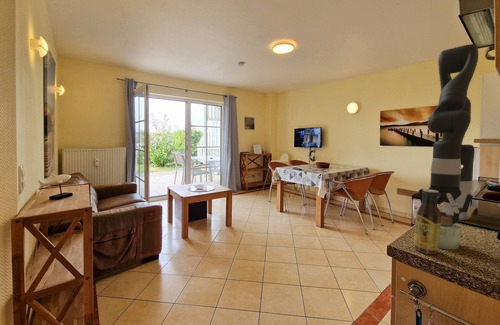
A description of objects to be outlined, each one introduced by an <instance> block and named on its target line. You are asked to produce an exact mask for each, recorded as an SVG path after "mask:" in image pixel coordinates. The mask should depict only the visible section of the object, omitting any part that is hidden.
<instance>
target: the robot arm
mask: <svg viewBox="0 0 500 325" xmlns="http://www.w3.org/2000/svg"><path fill="white" fill-rule="evenodd" d="M478 61H479V48H478V45H476V44H475V43H474V44H473V43H471V44H464V45H461V46H457V47H456V46H455V47H453V48H447V49H444V50H442V51H441V52H440V53H439V55H438V62H437V63H438V74H439V82H440V95H439V100H438V104H437V105H436V106H435V108H434V110H433V111H432V112H431V114H430V116H429V117H428V119H427V124H426V125H427V128H428V131H429V132H431V133H433V134H442V139H441V140H436V141H435V142H434V143H433V147H432V161H431V166H430V184H429V185H430V186H429V188H428V189H430V190H436V191H439V196H438V200H437V203H438V202H439V203H442V202H443V203H442V212H445V213H446V214H450V215H453V224H458V223H459V222H460V220H462V221H464V220H467V221H468V220H470V214H471V201H472V199H473V194H472V185H473V166H474V160H475V147H474V145H473V144H463V140H464V138H465V136H466V133H467V131H468V129H469V126H470V124H471V121H472V118H471V116H472V115H471V114H472V112H471V111H472V103H471V101H470V99H469V98H468V90H469V86H470V83H471V81H472V79H473V76H474V74H475V71H476V68H477V65H478ZM452 74H456V75H455V76H454V77H453V78H452ZM424 189H425V188H420V189H419V190H418V194H419V195H418V196H419V199H420V205H421V204H422V200H423V194H422V192H423V190H424Z"/></svg>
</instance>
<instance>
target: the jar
mask: <svg viewBox="0 0 500 325" xmlns="http://www.w3.org/2000/svg"><path fill="white" fill-rule="evenodd" d="M460 236H461V225H460V224H458V223H456V224H453V226H441V225H440V236H439V246H438V249H443V250H449V251H454V250H455V251H456V250H458V249H459V248H460V239H461V238H460Z"/></svg>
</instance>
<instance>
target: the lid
mask: <svg viewBox="0 0 500 325" xmlns="http://www.w3.org/2000/svg"><path fill="white" fill-rule="evenodd" d="M440 212H441V220H440V222H441V226H453V215H450V214H446V213H445V212H443V211H440Z"/></svg>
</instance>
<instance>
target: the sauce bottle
mask: <svg viewBox="0 0 500 325" xmlns="http://www.w3.org/2000/svg"><path fill="white" fill-rule="evenodd" d="M423 189H424V190H423V192H422V194H423V200H422V204H421V203H420V206H419V208H418V209H417V211H416V214H415V215H416V217H415V227H414V237H413V238H414V239H413V243H414V245H413V246H414V249H415V250H416V251H418V252H420V253H422V254H426V255H436V254H438V252H439V251H438V250H439V248H438V246H439V236H440V225H441V222H440V220H441V212H442V211H441V210H440V209H439V207H438V201H437V200H438V196H439V191H436V190H430V189H429V188H423Z"/></svg>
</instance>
